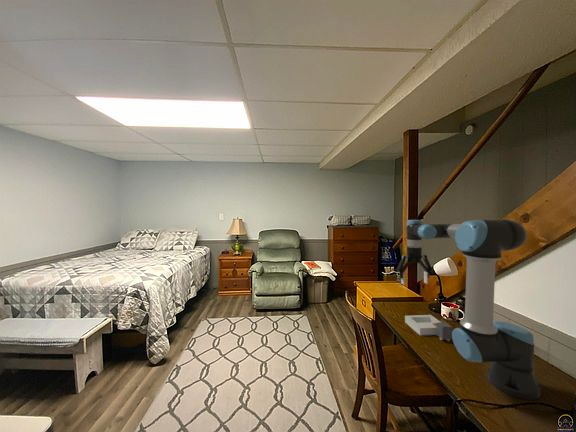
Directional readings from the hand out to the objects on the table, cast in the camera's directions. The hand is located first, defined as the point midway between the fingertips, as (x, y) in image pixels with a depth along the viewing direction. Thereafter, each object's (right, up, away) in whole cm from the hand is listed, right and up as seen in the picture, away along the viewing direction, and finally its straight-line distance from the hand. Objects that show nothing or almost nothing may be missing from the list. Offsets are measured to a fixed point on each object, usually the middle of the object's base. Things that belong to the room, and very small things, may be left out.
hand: (414, 283), depth 143 cm
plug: (+9, -26, -12) cm, 30 cm away
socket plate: (+7, -26, +1) cm, 27 cm away
